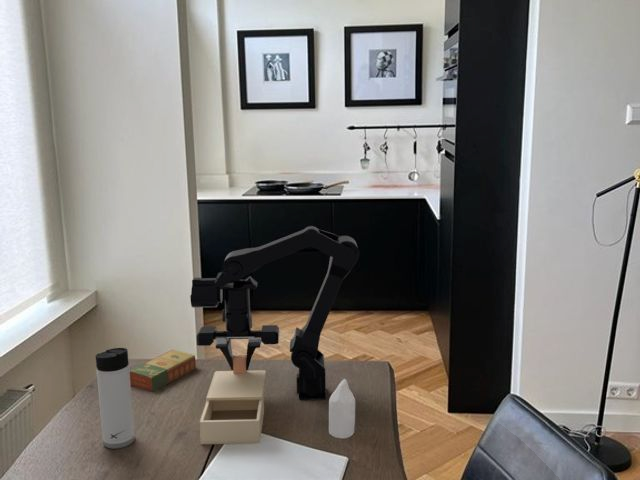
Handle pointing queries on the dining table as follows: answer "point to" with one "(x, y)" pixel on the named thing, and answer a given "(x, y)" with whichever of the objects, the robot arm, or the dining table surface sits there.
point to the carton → (162, 370)
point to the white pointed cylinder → (342, 412)
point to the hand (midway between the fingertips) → (240, 369)
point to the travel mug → (115, 398)
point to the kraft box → (232, 421)
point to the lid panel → (237, 382)
